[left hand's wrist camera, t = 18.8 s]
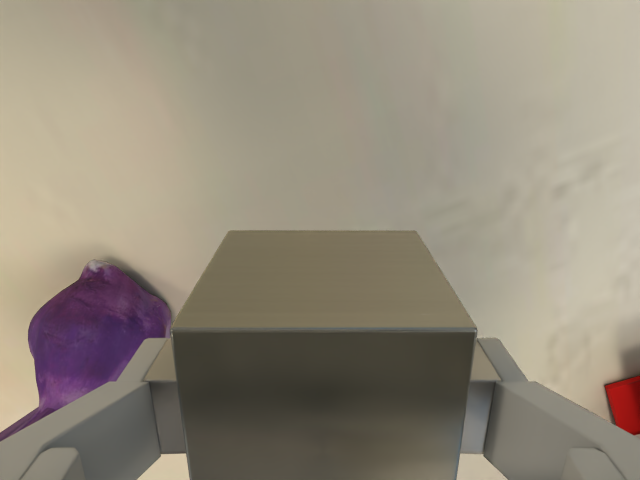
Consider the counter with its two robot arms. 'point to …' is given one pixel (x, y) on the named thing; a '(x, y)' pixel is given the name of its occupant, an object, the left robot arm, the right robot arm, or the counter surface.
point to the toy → (626, 404)
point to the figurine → (89, 336)
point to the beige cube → (323, 359)
